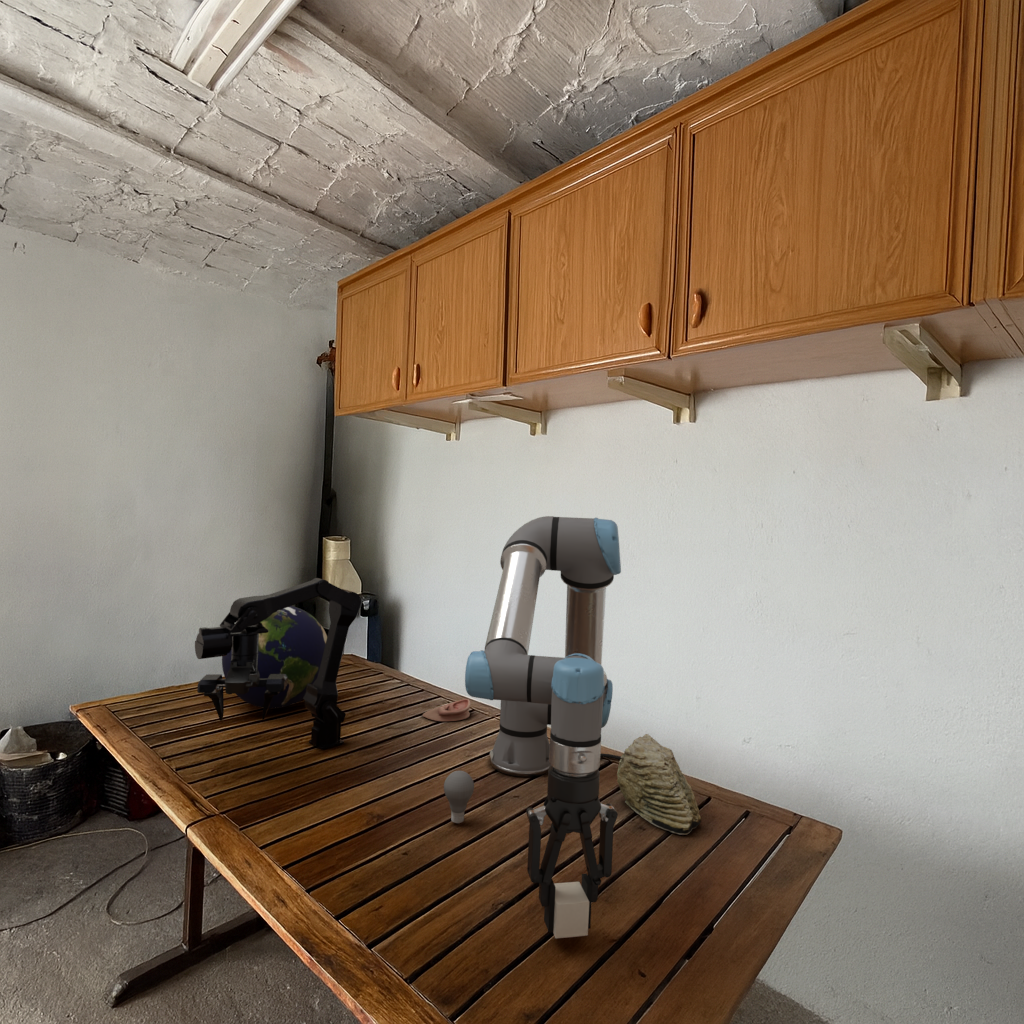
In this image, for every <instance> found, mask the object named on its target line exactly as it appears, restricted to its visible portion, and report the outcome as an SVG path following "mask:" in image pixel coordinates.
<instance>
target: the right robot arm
mask: <svg viewBox="0 0 1024 1024" xmlns="http://www.w3.org/2000/svg"><path fill="white" fill-rule="evenodd" d="M620 548H621V547H620V536H619V526H618V524H617V522H615V521H614V520H612V519H605V518H599V517H593V518H592V517H571V516H570V517H569V516H568V517H567V516H553V515H545V516H540V517H537V518H534V519H531V520H529V521H528V522H526V523H524V524H523V525H521V526H520V527H519V528H518V529H516V531H514V532H513V533H512V534H511V536H510V537H509V539H507V541H506V543H505V544H504V546H503V548H502V550H501V551H502V552H501V555H500V561H499V562H500V564H499V565H500V568H501V570H502V572H501V576H500V581H499V585H498V589H497V594H496V597H495V598H496V599H495V602H494V607H493V611H492V615H491V619H490V623H489V628H488V632H487V635H486V636H487V637H486V641H485V645H484V650H474V651H471V652H470V654H469V655H468V656H467V659H466V665H465V672H464V673H465V674H464V687H465V691H466V693H467V695H468V696H470V697H472V698H477V699H482V700H483V699H484V700H488V701H500V707H499V709H500V711H499V729H498V734H497V737H496V739H495V742H494V745H493V748H492V749H490V751H489V757H490V766H491V767H492V768H493V769H494V770H496V771H497V772H500V773H501V774H504V775H508V776H513V777H521V778H522V777H523V778H529V777H531V778H532V777H538V776H542V775H545V774H547V790H546V791H547V792H546V793H547V795H546V798H545V800H544V802H543V805H542V806H539V807H537V808H533V807H531V806H529V807H527V808H526V811H525V814H526V816H527V820H528V822H529V824H528V846H527V847H528V848H527V866H526V871H527V875H528V876H529V879H530V881H531V883H533V884H538V900H539V902H540V905H541V907H544V909H543V921H544V924H545V927H546V929H547V932H548V933H553V930H554V908H555V888H556V887H555V885H554V883H555V882H554V880H553V877H554V873H555V870H556V866H557V862H558V859H559V855H560V852H561V848H562V844H563V842H564V841H565V839H566V836H567V834H571V833H576V834H579V838H580V844H581V849H582V852H583V858H584V863H585V869H586V871H587V873H581V883H580V884H581V886H582V888H583V890H584V892H585V894H586V896H587V898H588V900H589V919H588V929H591V922H592V904H593V903H596V902H597V901H598V899H599V886H600V885H601V884H602V879H603V878H610V877H611V876H612V873H613V849H614V827H615V824H616V821H617V819H618V815H619V813H618V811H617V810H616V809H615V807H614V806H613V804H612V803H610V802H608V803H606V804H603V803H601V801H600V798H599V795H600V779H601V777H600V775H601V773H600V770H599V768H600V767H601V758H606V759H612V760H617V761H620V759H622V758H621V756H622V755H616V754H611V753H602V752H601V751H602V729H603V728H605V727H606V725H607V724H608V722H609V718H610V714H611V708H612V700H613V689H614V687H613V681H612V680H611V679H608V676H607V673H606V671H605V670H604V667H603V665H602V663H603V644H604V630H605V629H604V628H605V613H606V611H605V610H606V596H607V587H609V586H610V585H611V584H613V582H614V577H615V576H617V575H620V574H621V573H622V565H621V564H622V563H621V550H620ZM546 571H555V572H556V571H557V572H560V579H561V581H562V582H563V583H564V584H565V585H566V608H565V609H566V610H565V638H564V639H565V641H564V657H562V656H561V657H560V656H546V655H545V656H544V655H543V656H542V655H535V654H529V651H530V644H531V636H532V631H533V630H532V629H533V623H534V617H535V611H536V605H537V597H538V590H539V585H540V578H541V577H542V576H543V575H544V574H545V573H546ZM548 725H549V726H550V733H549V736H548ZM546 816H547V818H549V820H550V821H551V823H550V832H549V835H548V839H547V843H546V846H545V850H544V853H543V855H542V856H543V857H542V860H541V849H542V848H541V847H542V845H541V844H542V828H541V826H543V825H544V822H545V817H546ZM597 816H599V818H600V821H599V841H598V846H599V847H598V862H597V858H596V851H595V848H594V842H593V841H594V840H593V834H592V828H591V824H592V823H593V822H594V820H595V819H596V817H597Z"/></svg>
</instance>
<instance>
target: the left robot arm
mask: <svg viewBox="0 0 1024 1024" xmlns="http://www.w3.org/2000/svg"><path fill="white" fill-rule="evenodd" d="M318 597H320V598H322V600H325V601H326V602H328V603H329V604H328V615H329V620H330V621H329V622H330V624H329V627H328V628H329V629H328V632H327V640H326V644H325V648H324V652H323V657H322V661H321V665H320V669H319V673H318V677H317V679H316V680H315V681H314V683H313V684H307V686H306V693H305V696H304V697H303V700H304V707H305V709H306V710H307V711H308V712H310V715H311V717H312V718H314V719H313V721H312V722H313V723H312V727H311V730H310V731H311V732H310V733H311V735H310V739H309V740H308V743H309V744H310V745H313V746H314V747H316V748H318V749H320V750H327V749H329V748H333V747H336V746H340V745H343V744H344V743H345V741H344V740H343V739H341V737H342V735H341V733H342V723H344V721H345V719H346V715H347V714H346V712H344V711H343V710H342V709H341V708H340V707H339V706H338V702H339V701H338V698H339V692H338V686H337V679H338V675H339V671H340V666H341V662H342V658H343V655H344V650H345V645H346V642H347V637H348V634H349V630H350V626H351V625H352V624H353V623H354V621H355V620H356V618H357V617H358V614H359V612H360V610H361V607H362V603H363V601H362V600H363V599H362V598H361V595H359V594H358V592H355V591H352V590H348V589H345V588H340V587H338V586H336V585H334V584H332V583H331V582H329V581H328V580H327V579H323V578H319V577H314V578H313V579H311V580H309V581H306V582H305V581H304V582H303V583H300V584H296V585H294V586H291V587H288V588H284V589H282V590H279V591H276V592H272V593H270V594H265V595H264V594H263V595H252V596H246V597H240V598H237V599H235V600H234V601H233V602H232V604H231V605H230V609H229V612H228V613H227V614H226V616H225V618H223V620H222V621H221V622H220V624H219V626H212V627H199V629H198V633H197V635H196V637H195V638H196V639H195V641H194V651H195V652H194V653H195V656H196V658H197V659H198V660H204V659H212V658H220V657H221V658H222V656H226V655H227V654H228V653H230V651H231V649H232V658H231V664H230V669H229V671H228V674H227V677H226V679H225V678H223V674H213V673H212V674H211V673H210V674H207V673H206V674H205V675H204V676H203V677H201V679H200V680H199V681H198V682H197V689H196V690H197V694H203V696H204V697H208V698H209V699H210V700H211V701H212V704H213V705H214V708H215V711H216V714H217V716H218V719H219V721H223V720H224V712H225V710H224V709H225V708H224V707H225V706H224V691H225V694H226V695H233V694H234V695H236V694H238V693H240V694H246V693H248V692H249V688H252V687H266V689H267V691H266V692H265V694H264V705H263V708H262V712H261V721H264V720H265V719H266V715H267V713H268V711H269V709H270V708H269V705H270V703H271V700H272V698H273V696H274V695H278V694H279V692H283V691H284V690H285V688H286V686H287V682H288V677H287V675H286V674H270V675H269V677H268V678H260V675H259V671H258V644H259V634H260V633H267V632H268V629H266V628H265V627H264V626H263V625H262V623H260V622H262V621H263V620H265V619H267V618H268V617H269V616H271V615H272V614H273V613H275V612H276V611H278V610H281V609H284V608H287V607H290V606H295V605H297V604H301V603H304V602H306V601H310V600H313V599H315V598H318ZM224 689H225V690H224Z"/></svg>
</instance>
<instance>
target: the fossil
mask: <svg viewBox="0 0 1024 1024" xmlns="http://www.w3.org/2000/svg"><path fill="white" fill-rule="evenodd" d="M620 756H621V758H622V759H620V760H618V767H617V768H618V769H617V773H616V777H617V780H616V783H617V784H618V786H619V790H620V791H621V793H622V796H623V797H624V799H625V801H624V803H626V805H627V806H628V807H629V808H630V809H631V810H633V812H634V813H636V814H637V815H639V816H640V817H641V818H643V819H644V820H645V821H646V822H648V823H649V824H651V825H653V826H655V827H656V828H659V829H662V830H664V831H668V832H670V833H672V834H676V835H682V836H684V835H686V836H687V835H688V834H690V833H691V832H692V831H693V830H694V829H696V828H697V827H698V826H699V825H700V824H701V823H702V817H701V815H700V809H699V807H698V802H697V800H696V797H695V793H694V791H693V789H692V786H691V785H690V784H689V782H688V780H687V778H686V775H685V774H684V773H683V771H682V770H681V767H680V765H679V763H678V761H677V760H676V757H675V755H674V752H673V750H672V749H671V748H670V747H669V748H668V747H666V746H663V745H662V744H660V743H659V742H658V741H657V740H656V739H655V738H653V736H651V735H650V734H649V733H645V734H644V735H642V736H638V737H637V738H635V739H634V740H633V741H632V743H631V744H630V745H628V747H627V748H625V750H624V751H623V754H622V755H620Z"/></svg>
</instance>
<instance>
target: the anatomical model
mask: <svg viewBox="0 0 1024 1024" xmlns="http://www.w3.org/2000/svg"><path fill="white" fill-rule="evenodd" d="M470 708H471V700H470V699H468V698H464V699H459V700H456V701H452V702H450V703H447V704H444V705H441V706H438V707H434V708H431V709H428V710H427V711H425V712H424V713H422V717H423V718H426V719H428V720H431V721H435V722H455V721H456V722H457V721H461V720H462V721H463V720H466V719H468V718H469V717H470V715H471V714H470V711H469V710H470Z"/></svg>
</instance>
